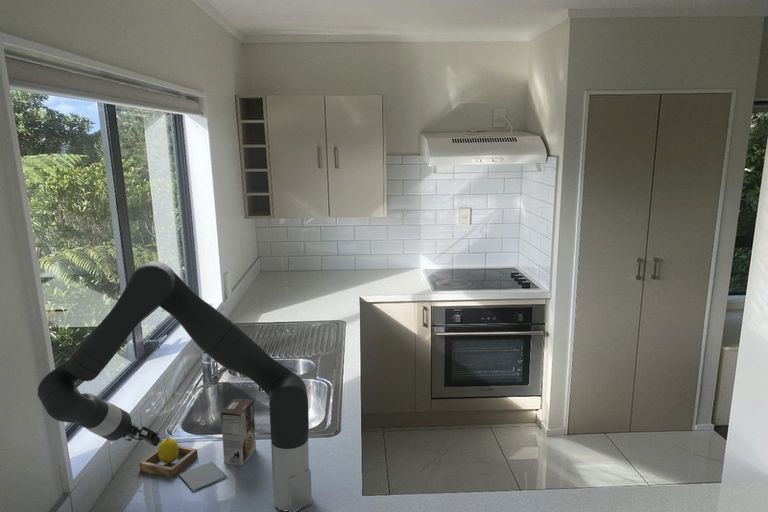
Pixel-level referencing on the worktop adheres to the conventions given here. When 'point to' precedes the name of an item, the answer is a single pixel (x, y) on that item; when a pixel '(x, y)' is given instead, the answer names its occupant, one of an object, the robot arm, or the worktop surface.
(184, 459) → the holder
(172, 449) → the lemon
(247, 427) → the coffee box
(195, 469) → the mat
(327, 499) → the worktop surface
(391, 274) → the worktop surface
